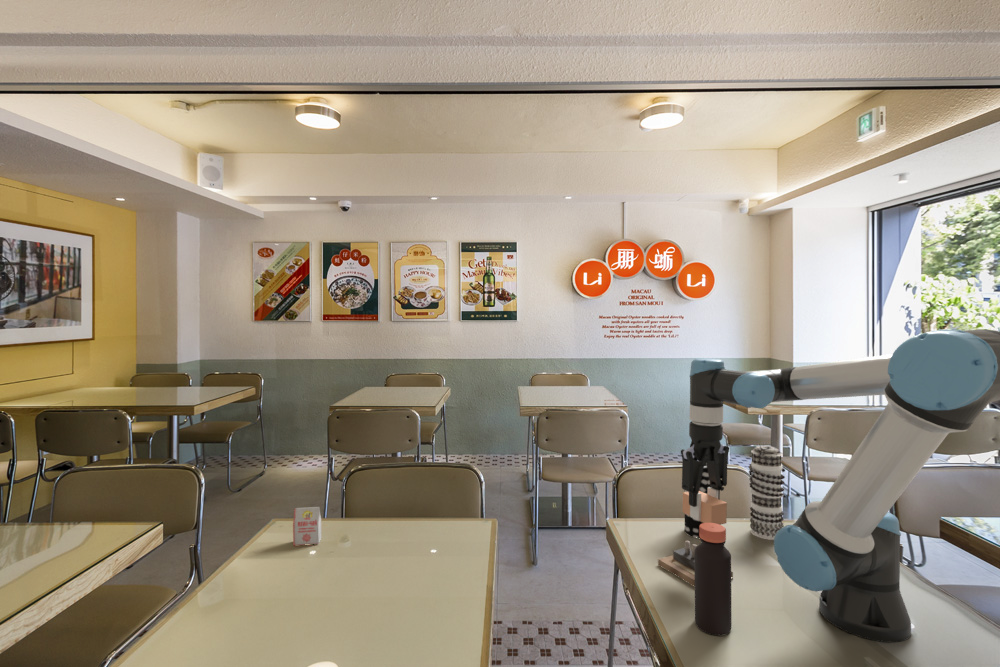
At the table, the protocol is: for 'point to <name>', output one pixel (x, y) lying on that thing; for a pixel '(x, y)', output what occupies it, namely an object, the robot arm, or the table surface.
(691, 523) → the white-spotted black cylinder
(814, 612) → the table surface
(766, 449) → the decorative candle
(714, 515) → the block
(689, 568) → the pin board
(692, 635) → the table surface
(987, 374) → the robot arm
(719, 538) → the bottle
